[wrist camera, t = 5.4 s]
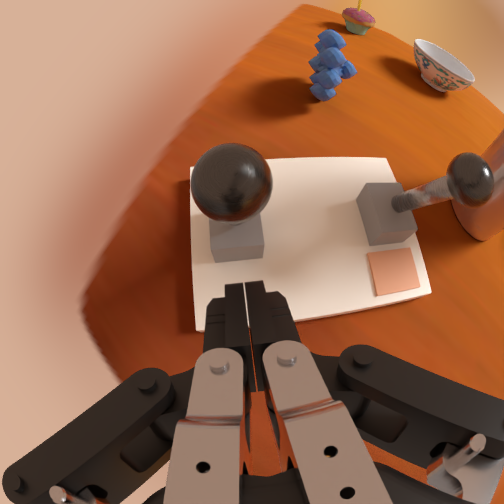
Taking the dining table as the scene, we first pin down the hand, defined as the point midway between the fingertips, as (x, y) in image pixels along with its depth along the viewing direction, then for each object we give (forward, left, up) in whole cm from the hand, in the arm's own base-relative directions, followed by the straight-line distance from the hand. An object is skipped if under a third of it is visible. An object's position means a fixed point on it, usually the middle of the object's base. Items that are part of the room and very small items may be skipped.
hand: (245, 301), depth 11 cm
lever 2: (-16, 0, -7) cm, 17 cm away
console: (-10, -4, -13) cm, 17 cm away
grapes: (-27, -19, -13) cm, 35 cm away
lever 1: (-4, -7, -7) cm, 10 cm away
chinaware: (-60, -15, -13) cm, 63 cm away
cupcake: (-60, -39, -13) cm, 73 cm away
